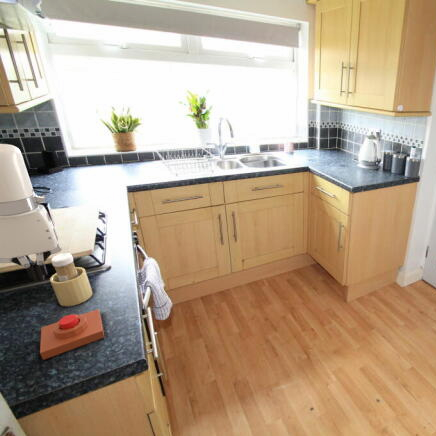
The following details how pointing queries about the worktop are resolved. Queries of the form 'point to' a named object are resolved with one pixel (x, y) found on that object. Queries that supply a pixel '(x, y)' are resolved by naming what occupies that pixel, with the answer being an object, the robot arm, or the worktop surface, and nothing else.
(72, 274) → the sprinkles bottle
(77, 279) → the cup
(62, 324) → the button
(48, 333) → the panel
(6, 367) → the worktop surface
